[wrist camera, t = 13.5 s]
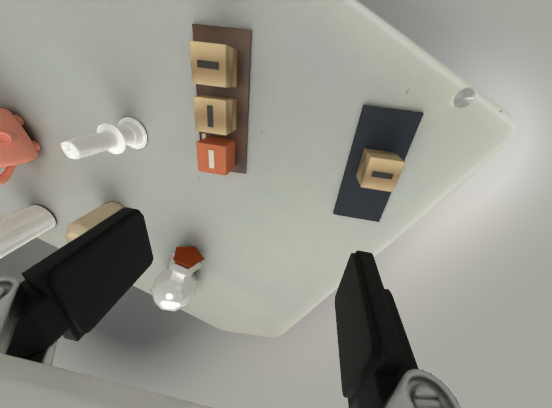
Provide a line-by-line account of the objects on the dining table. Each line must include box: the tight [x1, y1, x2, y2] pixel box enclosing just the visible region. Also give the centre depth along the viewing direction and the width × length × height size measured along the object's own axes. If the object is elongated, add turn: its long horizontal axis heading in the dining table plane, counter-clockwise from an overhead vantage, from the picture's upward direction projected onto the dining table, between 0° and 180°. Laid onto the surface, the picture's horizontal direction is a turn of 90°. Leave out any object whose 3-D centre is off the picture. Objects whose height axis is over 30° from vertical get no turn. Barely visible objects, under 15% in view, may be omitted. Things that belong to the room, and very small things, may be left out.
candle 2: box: [65, 202, 124, 242], centre depth 44 cm, size 6×6×10 cm
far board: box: [192, 24, 252, 174], centre depth 34 cm, size 20×8×1 cm, turn 174°
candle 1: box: [61, 117, 147, 159], centre depth 33 cm, size 5×5×12 cm
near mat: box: [333, 105, 423, 222], centre depth 35 cm, size 18×8×1 cm, turn 174°
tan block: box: [356, 148, 405, 192], centre depth 32 cm, size 4×4×5 cm
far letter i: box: [194, 95, 237, 135], centre depth 32 cm, size 4×4×5 cm
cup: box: [0, 205, 56, 258], centre depth 46 cm, size 8×8×14 cm
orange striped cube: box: [197, 136, 236, 175], centre depth 35 cm, size 4×4×5 cm
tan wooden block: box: [190, 41, 237, 88], centre depth 29 cm, size 4×4×5 cm
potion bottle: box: [151, 247, 204, 311], centre depth 49 cm, size 9×10×15 cm
